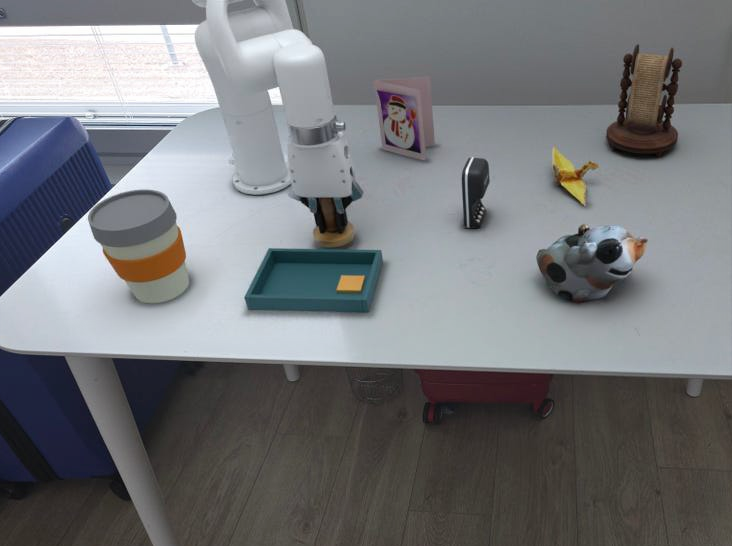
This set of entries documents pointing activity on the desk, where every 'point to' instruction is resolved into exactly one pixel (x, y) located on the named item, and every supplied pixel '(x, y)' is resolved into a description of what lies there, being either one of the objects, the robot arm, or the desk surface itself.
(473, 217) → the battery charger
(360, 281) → the orange flat square block
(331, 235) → the stamp
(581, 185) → the origami crane
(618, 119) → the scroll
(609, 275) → the lucky cat figurine
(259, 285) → the tray
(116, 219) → the reusable coffee cup
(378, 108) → the greeting card
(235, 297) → the desk surface
